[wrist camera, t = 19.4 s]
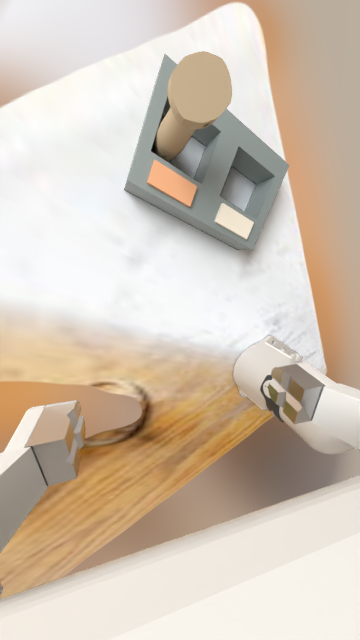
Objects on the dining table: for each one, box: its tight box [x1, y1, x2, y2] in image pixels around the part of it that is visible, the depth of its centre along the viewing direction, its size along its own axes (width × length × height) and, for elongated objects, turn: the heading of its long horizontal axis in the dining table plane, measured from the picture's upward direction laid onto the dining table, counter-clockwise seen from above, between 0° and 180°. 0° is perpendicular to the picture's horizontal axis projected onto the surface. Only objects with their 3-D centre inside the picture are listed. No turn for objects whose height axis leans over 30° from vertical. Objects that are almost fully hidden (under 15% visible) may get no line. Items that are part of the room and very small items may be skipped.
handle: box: [152, 52, 232, 163], centre depth 26 cm, size 5×6×15 cm
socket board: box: [124, 54, 289, 250], centre depth 34 cm, size 24×15×6 cm, turn 68°
